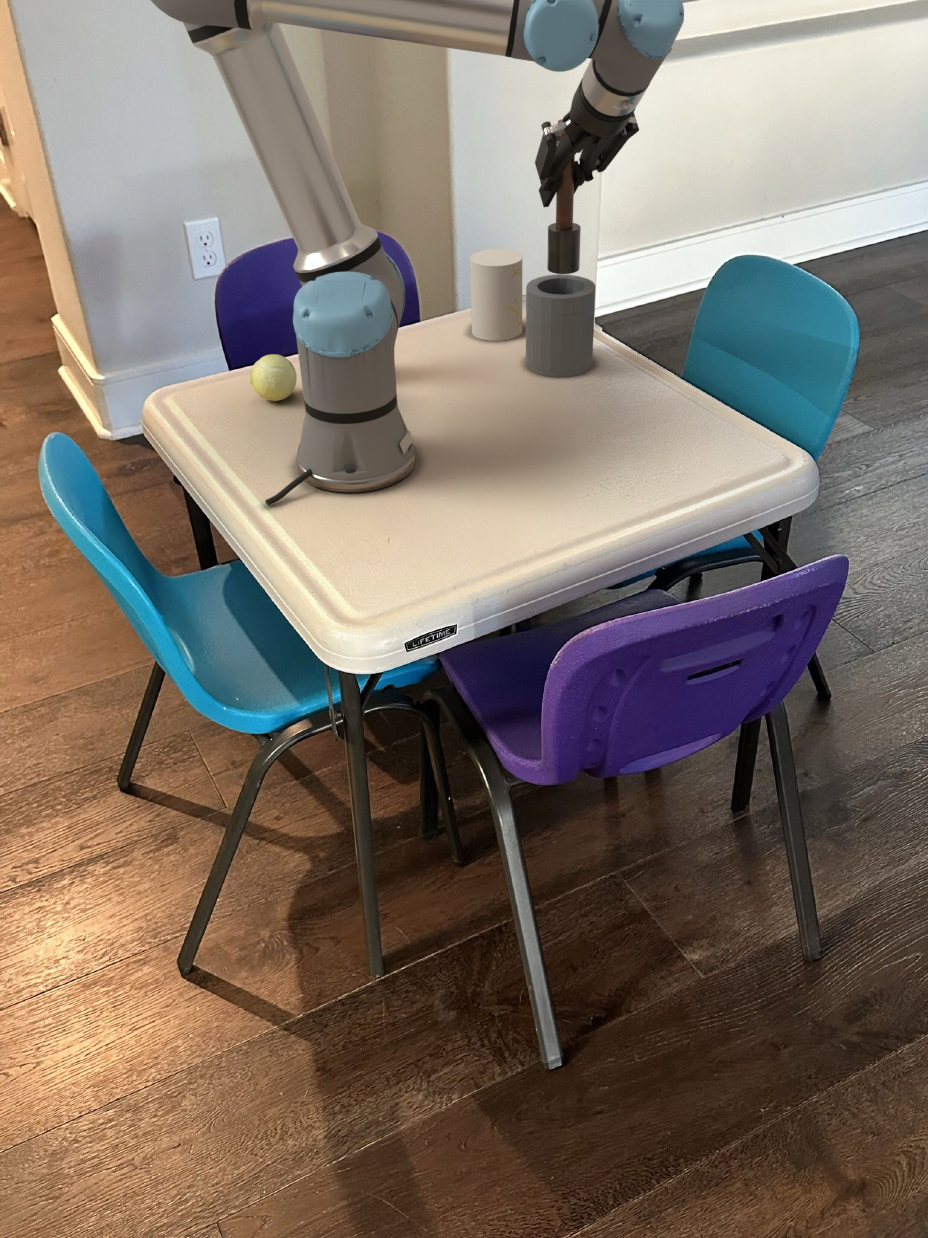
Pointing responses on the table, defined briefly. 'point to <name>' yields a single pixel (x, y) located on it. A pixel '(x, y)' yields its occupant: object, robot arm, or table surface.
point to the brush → (564, 227)
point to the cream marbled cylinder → (496, 294)
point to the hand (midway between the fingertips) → (553, 196)
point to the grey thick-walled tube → (560, 325)
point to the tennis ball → (273, 377)
